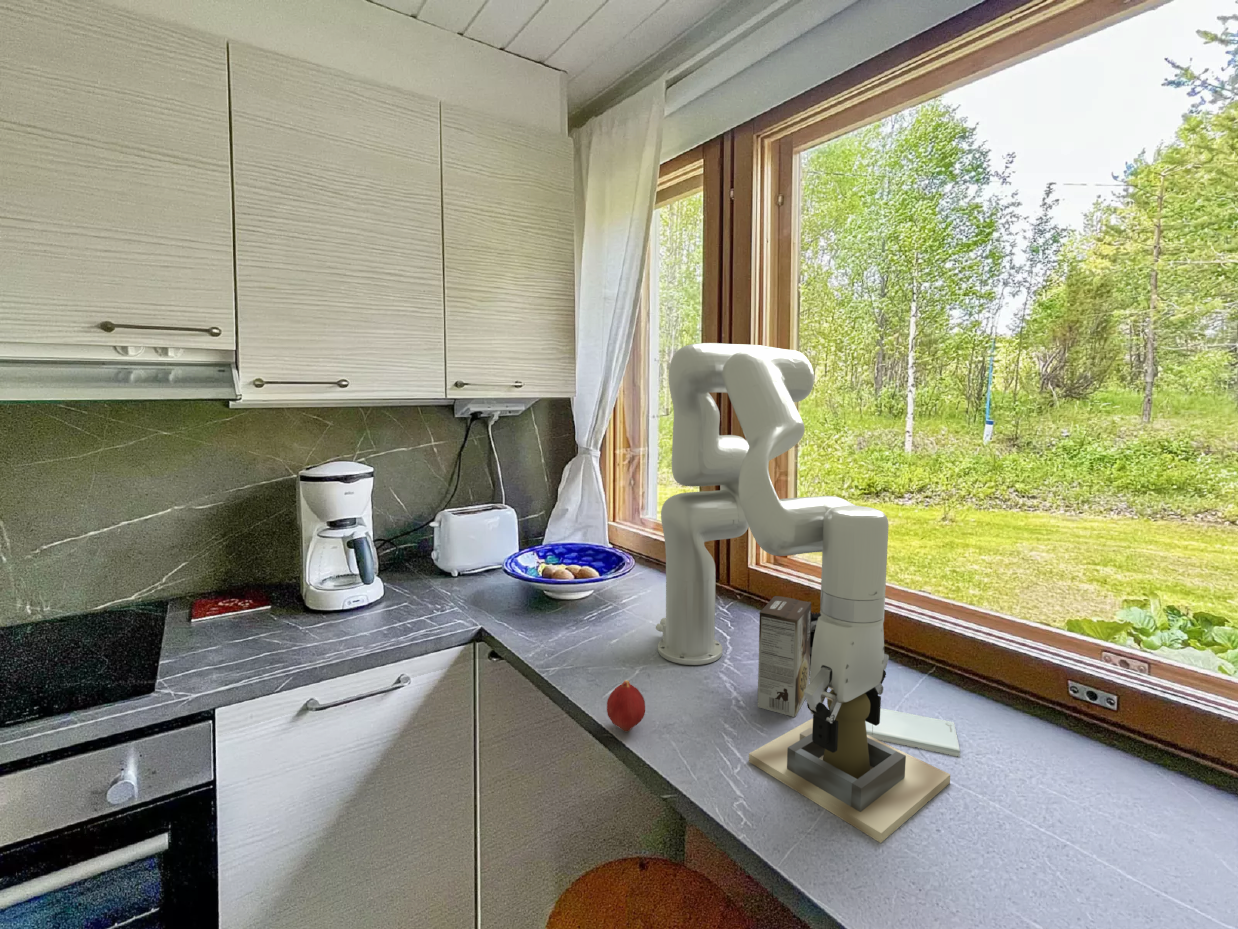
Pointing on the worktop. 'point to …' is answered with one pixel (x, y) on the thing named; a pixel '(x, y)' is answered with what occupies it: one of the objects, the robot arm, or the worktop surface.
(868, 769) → the cork
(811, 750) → the board
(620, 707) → the onion
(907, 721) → the hard drive
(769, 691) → the coffee box
